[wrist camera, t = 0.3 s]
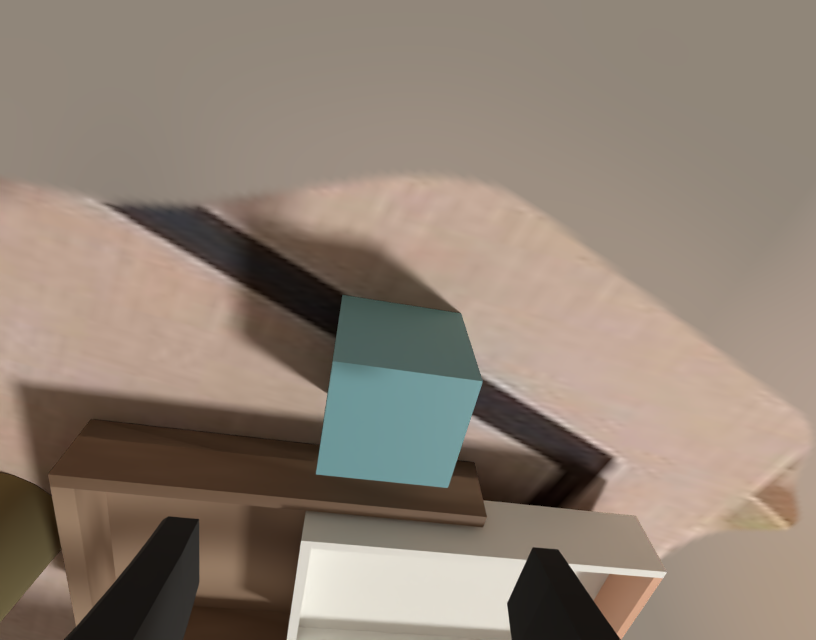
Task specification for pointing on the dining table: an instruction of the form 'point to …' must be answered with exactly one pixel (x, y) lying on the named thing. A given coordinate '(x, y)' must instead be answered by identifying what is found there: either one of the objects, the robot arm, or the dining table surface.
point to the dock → (220, 515)
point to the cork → (24, 537)
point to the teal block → (398, 394)
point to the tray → (458, 572)
